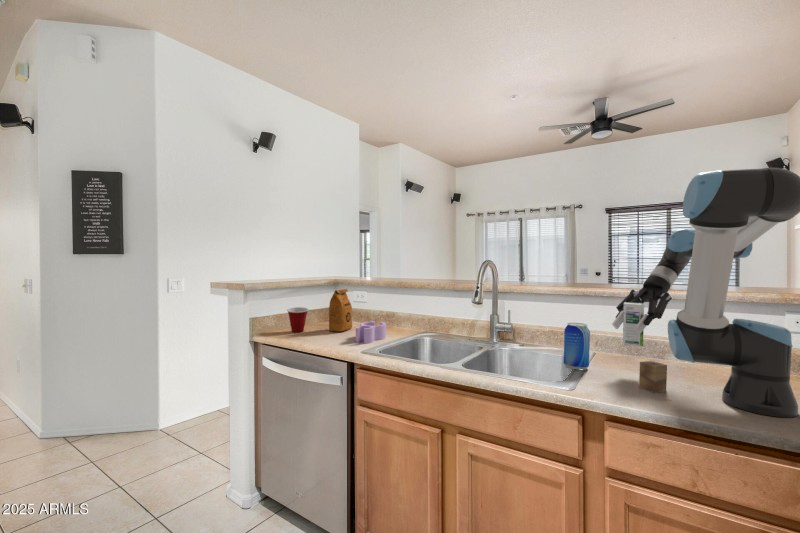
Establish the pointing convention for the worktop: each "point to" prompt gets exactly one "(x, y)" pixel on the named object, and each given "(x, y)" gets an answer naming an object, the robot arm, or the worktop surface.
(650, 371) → the walnut block
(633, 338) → the syrup box
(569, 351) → the blue canister
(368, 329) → the clip
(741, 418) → the worktop surface
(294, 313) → the plastic cup
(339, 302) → the coffee package
